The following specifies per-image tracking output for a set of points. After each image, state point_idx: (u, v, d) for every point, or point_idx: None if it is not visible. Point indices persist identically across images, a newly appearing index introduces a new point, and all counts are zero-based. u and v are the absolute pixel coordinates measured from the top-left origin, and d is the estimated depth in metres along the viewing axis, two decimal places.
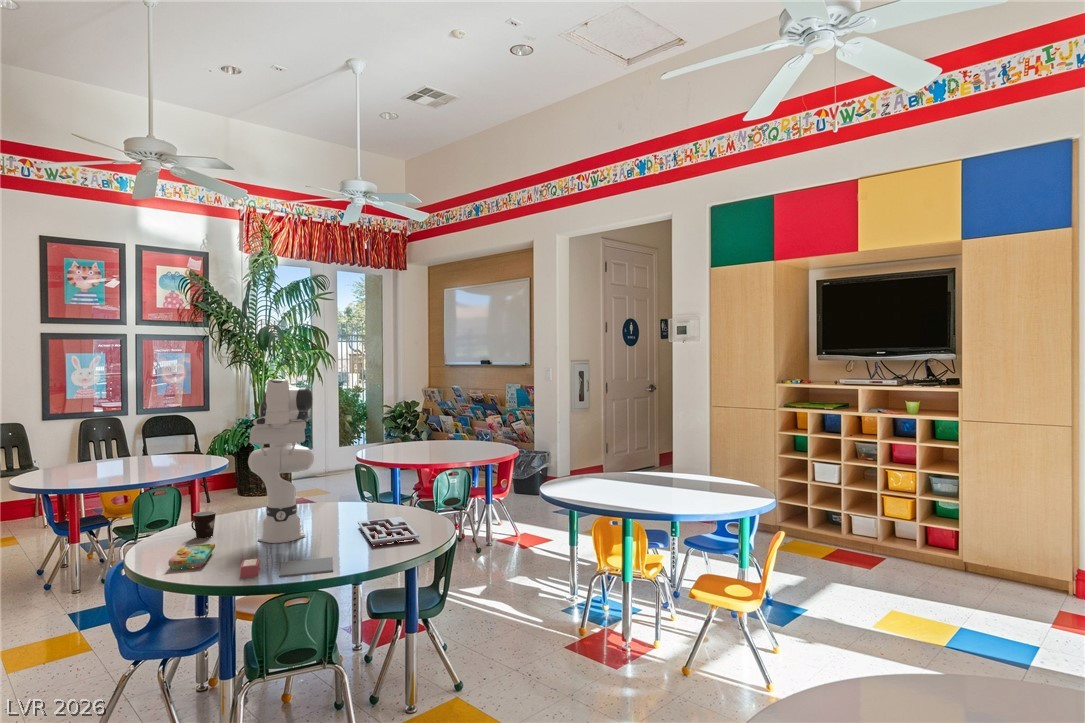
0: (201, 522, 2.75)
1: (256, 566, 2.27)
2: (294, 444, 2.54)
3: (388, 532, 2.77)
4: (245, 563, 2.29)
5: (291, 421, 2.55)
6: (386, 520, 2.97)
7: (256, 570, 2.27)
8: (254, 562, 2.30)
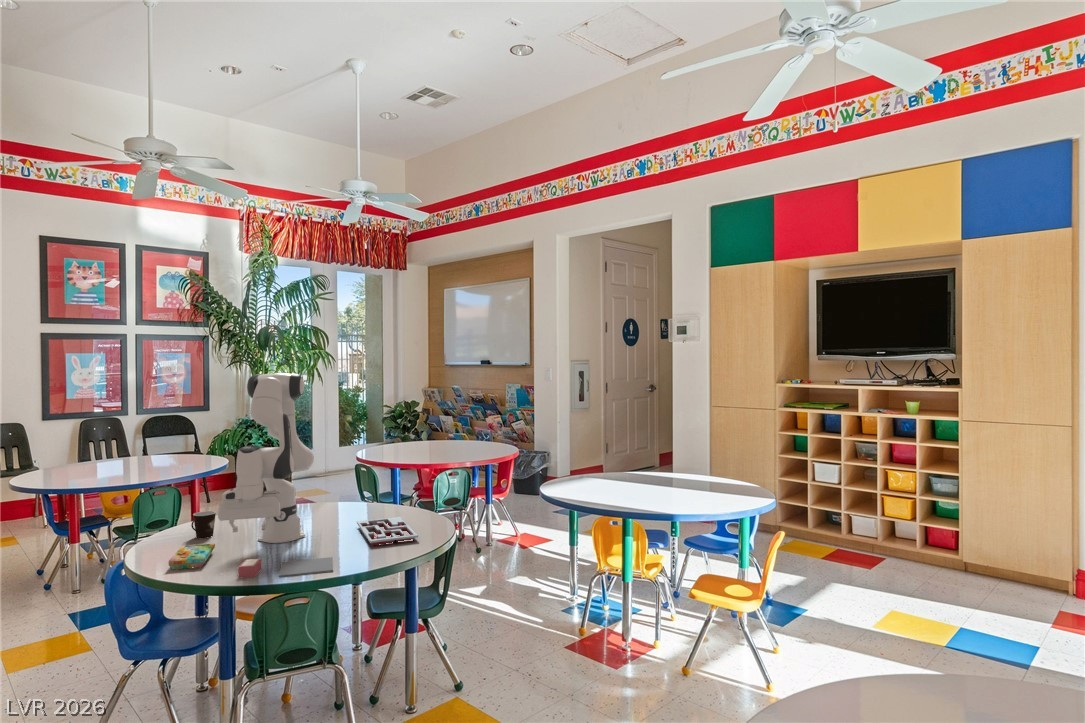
0: (201, 522, 2.75)
1: (254, 566, 2.27)
2: (268, 519, 2.31)
3: (387, 532, 2.77)
4: (245, 563, 2.29)
5: (264, 493, 2.32)
6: (385, 520, 2.97)
7: (254, 571, 2.27)
8: (254, 562, 2.30)
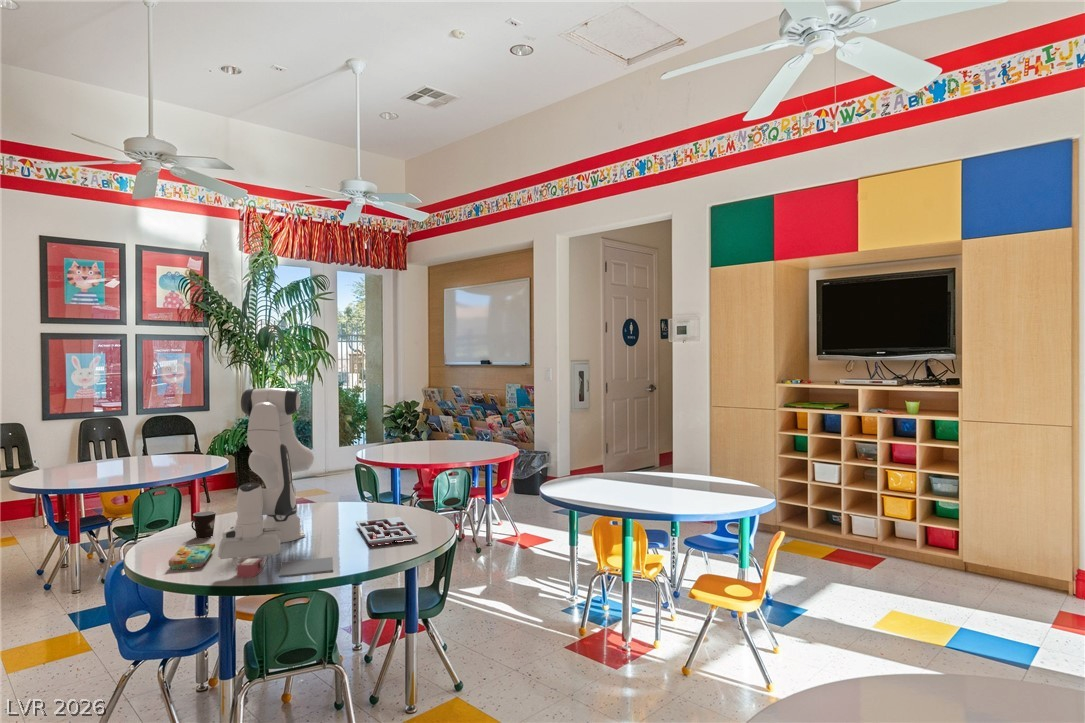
0: (201, 522, 2.75)
1: (252, 566, 2.26)
2: (266, 556, 2.31)
3: (386, 532, 2.77)
4: (245, 562, 2.30)
5: (265, 531, 2.32)
6: (384, 520, 2.97)
7: (252, 570, 2.26)
8: (253, 562, 2.30)
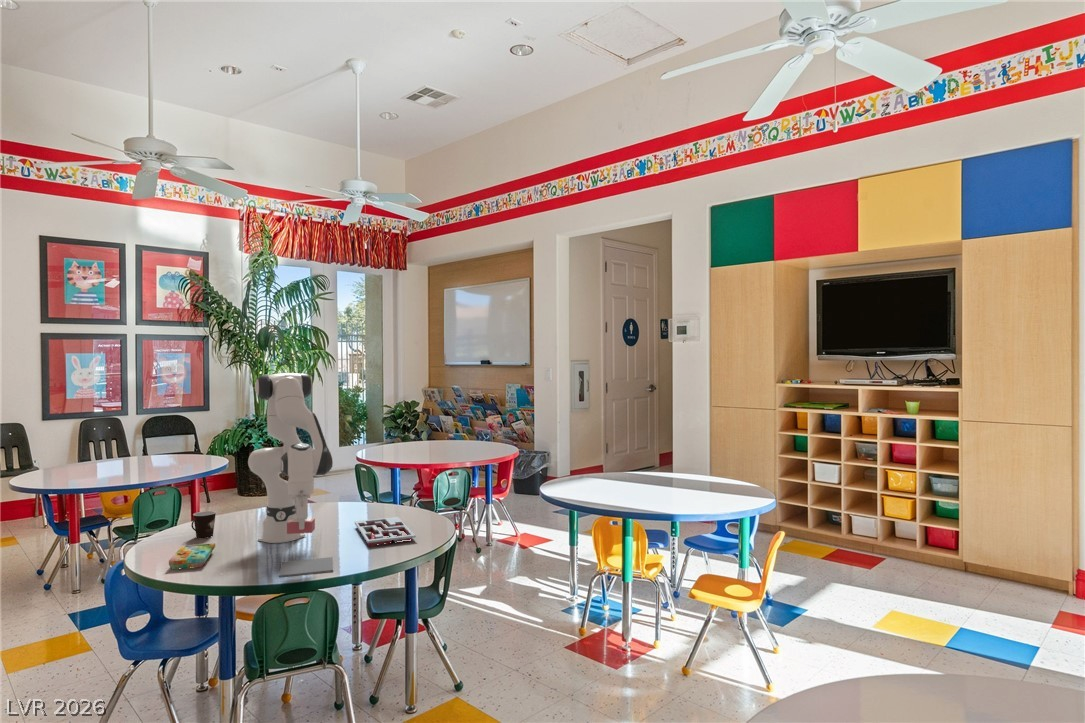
0: (201, 522, 2.75)
1: None
2: None
3: (385, 532, 2.77)
4: None
5: (300, 493, 2.31)
6: (383, 520, 2.97)
7: None
8: (298, 521, 2.34)
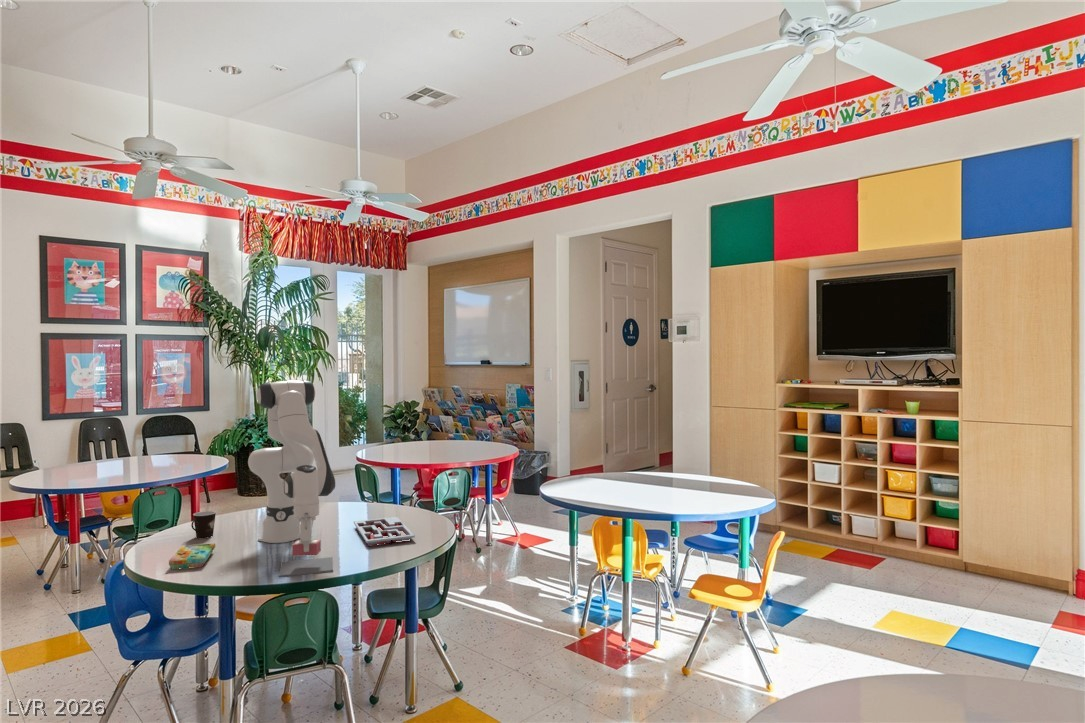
0: (201, 522, 2.75)
1: None
2: None
3: (384, 532, 2.77)
4: None
5: (304, 516, 2.32)
6: (382, 520, 2.97)
7: None
8: None
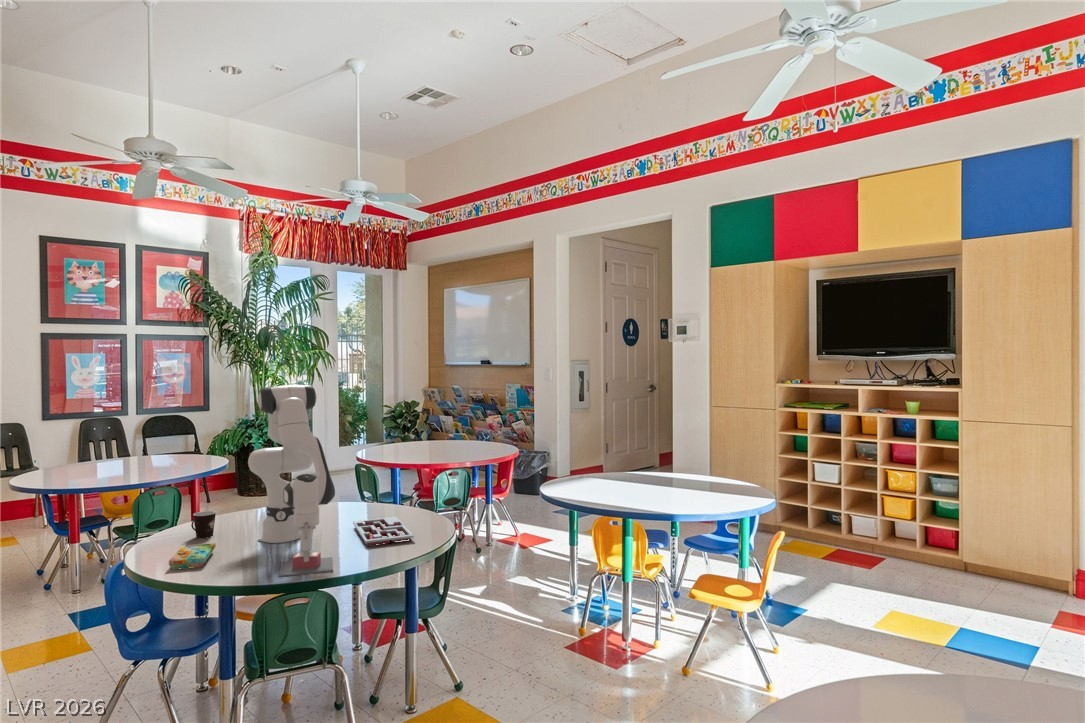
0: (201, 522, 2.75)
1: None
2: (303, 551, 2.31)
3: (383, 532, 2.77)
4: None
5: (304, 525, 2.32)
6: (381, 520, 2.97)
7: None
8: (303, 555, 2.35)
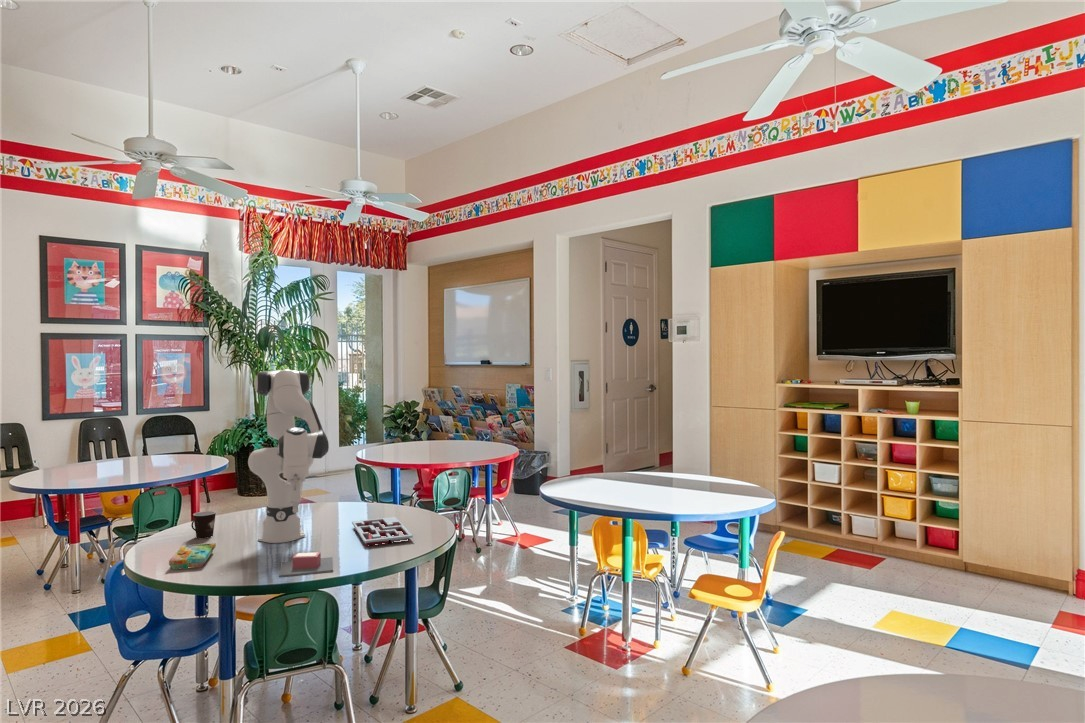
0: (201, 522, 2.75)
1: None
2: (292, 502, 2.34)
3: (382, 532, 2.77)
4: (305, 553, 2.38)
5: (294, 477, 2.35)
6: (380, 520, 2.97)
7: None
8: (303, 555, 2.35)
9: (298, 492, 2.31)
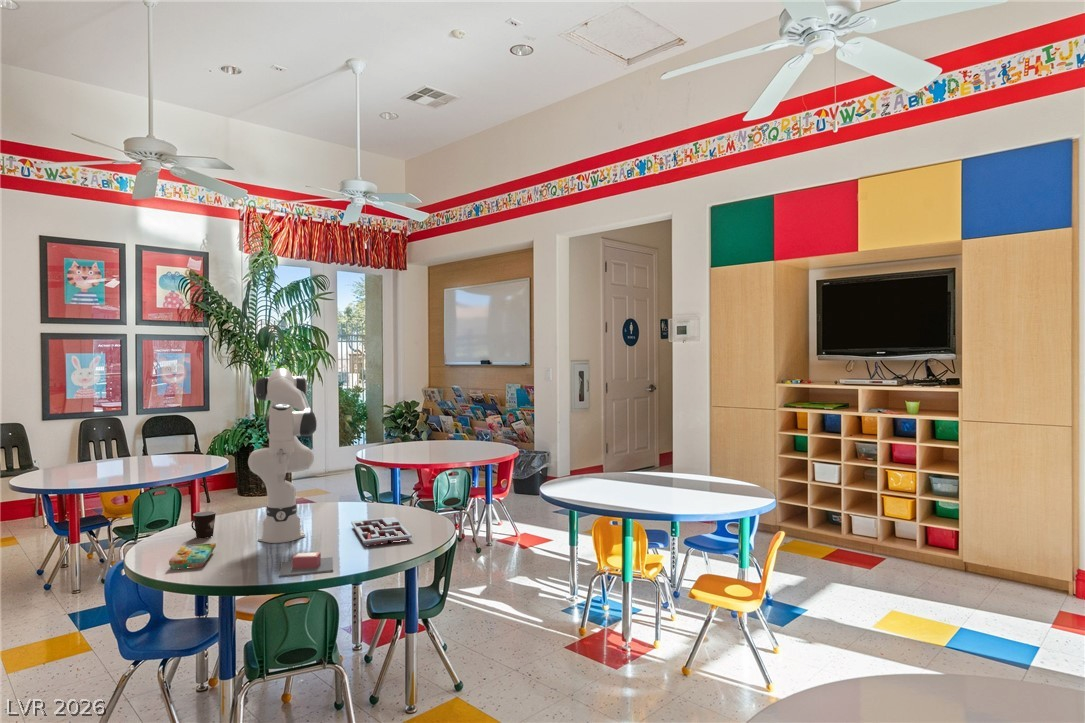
0: (201, 522, 2.75)
1: None
2: (277, 476, 2.38)
3: (381, 532, 2.77)
4: (305, 553, 2.38)
5: None
6: (380, 520, 2.97)
7: None
8: (303, 555, 2.35)
9: (283, 465, 2.35)
